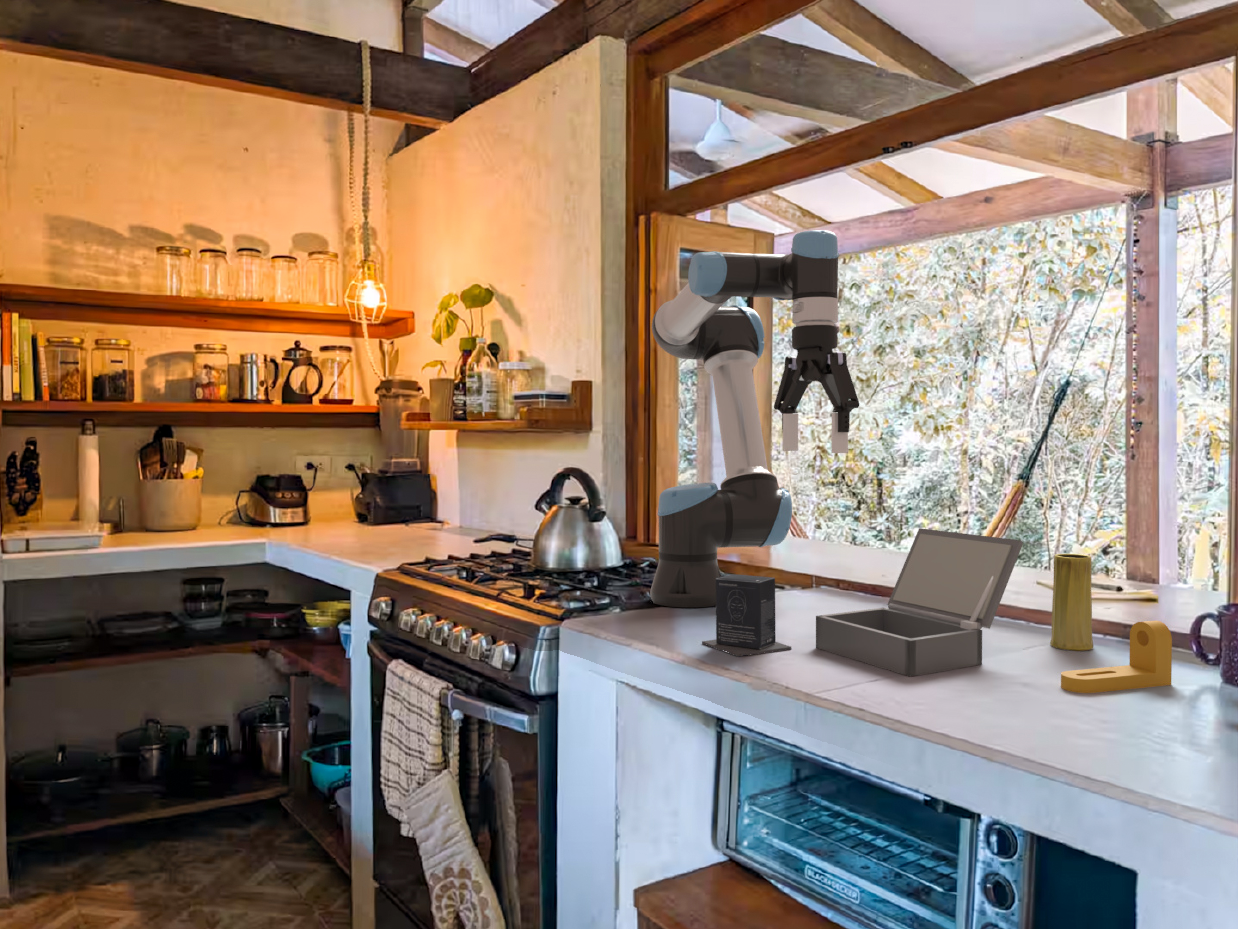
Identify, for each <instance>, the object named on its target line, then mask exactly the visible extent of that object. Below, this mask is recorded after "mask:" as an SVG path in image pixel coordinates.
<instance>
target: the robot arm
mask: <svg viewBox="0 0 1238 929" xmlns="http://www.w3.org/2000/svg"><path fill="white" fill-rule="evenodd" d="M790 249H791V253H787V254H780V253H778V254H775V253H745V252H724V251H714V250H712V251H708V252H707V251H703V252H696V253H695V254H694V255H693V256H692V258H691V259H690V263H689V267H688V274H687V275H688V277H687V278H688V282H687V283H686V285H685V286H684V287H683V288H682V289H681V290H680V291H679V293H678V294H677V295H676V296H675V297H674V298H673V299H671V300H668V301H666V302H664V303H663V304H661V305H660V307H659V308H658V309H657V310H656V312H655V313H654V315H653V318H652V321H651V322H652V323H651V332H652V335H653V338H654V340H655V342H656V343H657V344H658V346H659V347H660V348H661V349H662V350H663V351H665V352H666V353H667V354H669V355H671V356H673V357H676V358H679V359H682V360H683V359H684V360H702V361H703V368H704V371H705V372H706V373H707V374H709V375H710V376H712V382H713V390H714V397H715V403H716V409H717V419H718V424H719V426H718V427H719V431H720V433H719V434H720V439H721V446H722V453H723V455H722V456H723V461H724V468H725V470H724V471H725V475H726V476H725V478H723V480H722V482H721V483H720V489H719V487H718V485H717V483H716V482H700V483H690V484H689V483H688V484H682V485H678V486H677V485H676V486H672V487H669V488H666V489H664V490H662V492H661V493H660V494H659V497H658V510H657V516H658V565H657V567H656V571H655V573H654V577H653V580H652V584H651V588H650V590H649V592H650V593H649V598H650V597H651V599H652V601H653V604H655V605H659V606H665V607H672V608H705V607H716V578H719V577H723V576H722V572H721V571H720V568H719V565H718V548H719V549H721V548H747V547H748V548H750V547H758V548H763V547H769V546H778V545H779V544H781V543H782V542H784V541H785V539H786V538H787V535H788V533H789V530H790V526H791V523H792V518H793V517H792V515H793V502H792V496H791V494H790V491H789V489H787V488H784V487H782V486H781V487H779V484H778V478H777V476H776V475H775V474H774V473H772V472H770V471H769V469H768V463H767V456H766V450H765V442H764V437H763V430H762V423H761V417H760V411H759V405H758V398H757V391H756V386H755V379H754V378H755V377H754V373H753V371H754V370H753V369H754V368H755V367H756V366H757V365H758V363H759V359H760V358H761V357H762V354H763V353H764V348H765V341H764V339H765V331H764V326H763V323H762V320H761V319H762V318H761V317H760V315H759V314H758V312H757V311H755V309H753V308H751V307H749V306H739V305H733V304H732V305H728V306H727V305H726V306H725V305H724V304H725V303H726V302H728V300H730V299H731V298H732V297H738V298H740V297H741V298H742V297H743V298H744V297H745V298H748V297H749V298H772V299H775V300H777V301H791V300H792V312H791V313H792V321H791V323H792V324H793V325H795V326H793V328H792V329H791V347H792V349H794V350H796V351H797V355H796V356H786V357H785V358H784V369H783V373H782V375H781V379H780V383H779V386H778V391H777V393H776V398H775V401H774V405H773V408H774V410H776V411H779V413H780V414H781V430H782V452H795V451H797V452H798V451H799V412H798V410H797V408H798V406H799V405H800V403H801V401H802V398H803V396H804V395H805V392H806V390H807V388H808V386H809V385H810V384H812V383H813V382H818V383H820V384H821V385H822V388H823V390H824V391H825V393H826V396H827V397H828V400H829V401H830V403H831V405H832V407H833V408H832V412H831V454H848V452H849V432H850V413H851V412H852V410H854V409H858V408H859V407H860V402H859V399H858V395H857V392H856V389H855V386H854V383H853V379H852V377H851V374H850V370H849V367H848V362H847V361H848V360H847V353H846V352H845V351H833V349H837V347H838V332H839V331H838V330H839V329H838V327H837V326H836V325H835V324H837V323H838V322H839V305H838V304H839V300H838V294H839V293H838V291H839V290H838V287H839V286H838V284H839V281H838V280H839V279H838V278H839V257H840V254H839V246H838V237H837V235H836V234H835V232H832V231H830V230H818V229H817V230H807V231H806V230H805V231H800V232H797V233H796V234H795V235H793V238H792V244H791V247H790ZM723 305H724V306H723Z"/></svg>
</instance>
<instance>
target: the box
mask: <svg viewBox="0 0 1238 929" xmlns="http://www.w3.org/2000/svg"><path fill="white" fill-rule="evenodd" d="M715 627H716V628H715V636H716V639H715V640H716V643H717V644H724V645H732V646H740V647H748V648H755V649H762V648H765V647H768V646H770V645H772V644H775V642H776V578H775V577H773V576H772V577H771V576H770V577H769V576H761V575H760V576H759V575H745V574H733V573H732V574H728V575H724V576H722V577H719V578H716V606H715Z"/></svg>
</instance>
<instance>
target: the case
mask: <svg viewBox="0 0 1238 929" xmlns="http://www.w3.org/2000/svg"><path fill="white" fill-rule="evenodd" d="M914 537H915V538H914V540H913V542H912V545H911V546H910V549H909V551H908V553H907V556H906V558H905V561H904V563H903V566H902V568H901V571H900V573H899V576H898V578H897V581H896V582H895V586H894V588H893V590H892V592H891V595H890V597H889V599H888V602H887V606H888V608H887V607H878V608H868V609H862V610H854V611H853V610H852V611H847V612H838V613H829V614H823V615H815V648H816V649H819V650H823V651H826V652H828V653H832V654H835V655H838V656H841V657H844V658H848V659H852V660H854V661H858V662H861V663H864V662H865V663H864V664H868V665H871V666H875V667H876V668H877V667H878V668H881V669H883V670H887V669H888V670H887V671H890V670H891V671H890V672H893V673H898V674H900V675H903V676H906V675H908V676H907V677H910V676H912V677H916V676H915V675H918V676H923V675H928V674H934V673H940V672H945V671H951V670H957V669H964V668H969V667H976V666H981V665H983V630H982V628H985V629H991V627H992V624H993V621H994V620H995V617H996V614H997V611H998V609H999V606H1000V605H1001V604H1000V603H1001V601H1002V599H1003V595H1004V594H1005V591H1006V589H1007V586H1008V583H1009V580H1010V578H1011V576H1012V573H1013V570H1014V567H1015V565H1016V564H1017V561H1018V558H1019V555H1020V553H1021V550H1022V548H1023V545H1024V541H1022V540H1020V539H1014V538H1013V539H1012V538H1004V537H996V536H988V535H987V536H986V535H979V534H970V533H962V532H953V531H946V530H936V529H928V528H920V527H919V528H918V531H917V532H916V535H915V536H914Z"/></svg>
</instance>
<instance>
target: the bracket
mask: <svg viewBox="0 0 1238 929" xmlns="http://www.w3.org/2000/svg"><path fill="white" fill-rule="evenodd" d="M1172 647H1173V638H1172V632H1171V630H1170V629H1169V627H1168V626H1167V625H1166V624H1165V623H1164V622H1162V621H1160V620H1146V621H1145V620H1144V621H1137V622H1135V623H1134V624H1132V625H1131V628H1130V631H1129V664H1127V665H1119V666H1106V667H1098V668H1097V667H1095V668H1094V667H1093V668H1085V669H1075V670H1064V671H1061V673H1060V687H1061V689H1063V690H1065V691H1068V692H1072V693H1077V694H1078V693H1079V694H1094V693H1106V692H1107V693H1108V692H1114V691H1127V690H1135V689H1143V688H1144V689H1147V688H1153V687H1154V688H1155V687H1164V686H1165V687H1166V686H1172V667H1173V666H1172V664H1173V663H1172V661H1173V659H1172V657H1173V655H1172V653H1173V652H1172V650H1173V648H1172Z"/></svg>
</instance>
